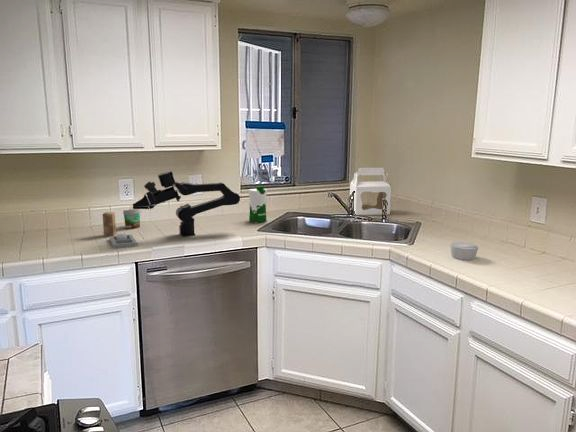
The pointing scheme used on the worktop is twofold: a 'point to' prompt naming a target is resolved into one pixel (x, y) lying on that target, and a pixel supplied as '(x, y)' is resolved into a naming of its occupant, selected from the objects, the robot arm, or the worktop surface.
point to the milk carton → (257, 204)
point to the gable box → (371, 186)
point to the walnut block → (109, 224)
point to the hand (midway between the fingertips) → (132, 206)
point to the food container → (132, 218)
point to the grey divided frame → (123, 241)
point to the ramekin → (463, 250)
